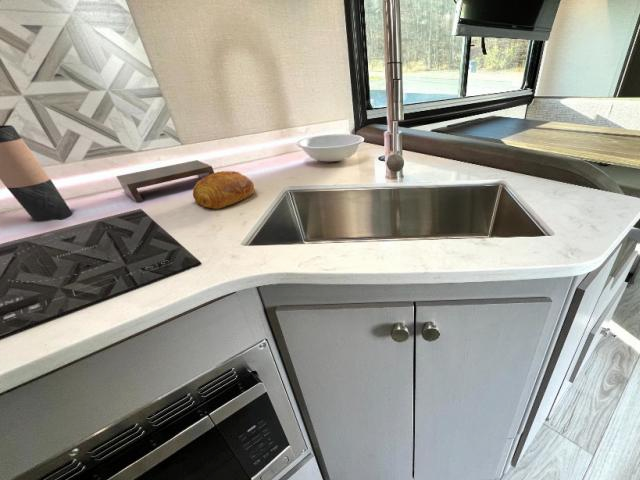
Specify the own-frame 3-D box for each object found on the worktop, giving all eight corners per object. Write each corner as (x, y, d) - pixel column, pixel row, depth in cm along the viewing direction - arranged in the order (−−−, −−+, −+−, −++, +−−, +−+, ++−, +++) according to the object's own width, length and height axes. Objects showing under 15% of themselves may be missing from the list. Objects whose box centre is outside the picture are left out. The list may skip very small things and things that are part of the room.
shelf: (136, 203, 86) (126, 184, 83) (125, 193, 92) (116, 176, 89) (218, 182, 98) (211, 166, 95) (203, 176, 105) (197, 160, 102)
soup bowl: (295, 157, 122) (291, 138, 118) (354, 149, 129) (352, 131, 125) (308, 172, 104) (303, 151, 100) (375, 162, 112) (373, 142, 108)
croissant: (267, 201, 90) (262, 171, 86) (218, 213, 78) (210, 179, 73) (231, 193, 95) (225, 165, 91) (180, 204, 83) (171, 171, 78)
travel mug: (79, 209, 83) (21, 124, 71) (65, 220, 77) (-1, 129, 65) (44, 214, 81) (-22, 126, 69) (26, 225, 75) (-49, 132, 63)
